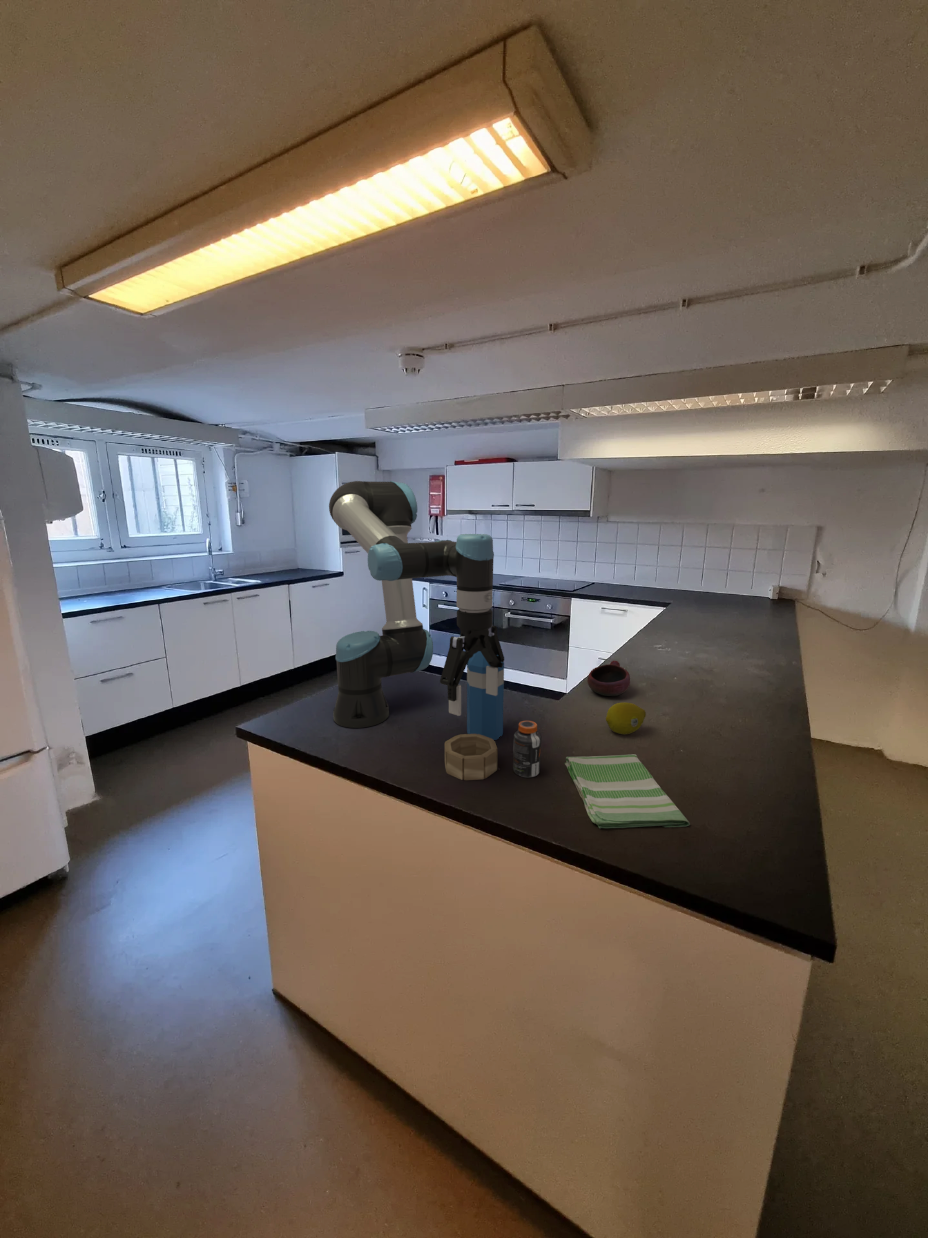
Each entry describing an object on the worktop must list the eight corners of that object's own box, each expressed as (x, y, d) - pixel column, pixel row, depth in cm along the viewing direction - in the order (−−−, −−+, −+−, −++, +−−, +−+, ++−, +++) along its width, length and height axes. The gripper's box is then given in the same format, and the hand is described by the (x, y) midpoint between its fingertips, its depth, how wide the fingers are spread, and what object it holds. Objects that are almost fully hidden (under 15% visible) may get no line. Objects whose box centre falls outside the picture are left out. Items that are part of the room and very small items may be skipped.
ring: (434, 768, 109) (434, 747, 108) (466, 748, 117) (466, 729, 116) (475, 785, 102) (475, 764, 101) (505, 763, 110) (506, 743, 109)
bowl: (635, 701, 145) (637, 676, 144) (592, 701, 145) (593, 676, 143) (618, 682, 161) (620, 659, 159) (579, 682, 161) (580, 659, 159)
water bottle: (500, 743, 120) (502, 646, 114) (463, 740, 122) (463, 644, 116) (504, 727, 129) (506, 636, 123) (470, 724, 131) (470, 634, 125)
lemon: (609, 740, 122) (611, 710, 120) (598, 726, 129) (600, 698, 127) (651, 738, 122) (654, 709, 120) (638, 725, 130) (640, 697, 128)
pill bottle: (544, 776, 105) (546, 728, 103) (519, 780, 104) (520, 731, 101) (533, 762, 111) (534, 716, 108) (508, 766, 109) (509, 719, 107)
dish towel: (594, 832, 88) (595, 819, 87) (561, 765, 111) (561, 754, 110) (689, 829, 89) (691, 815, 88) (637, 763, 112) (638, 752, 111)
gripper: (451, 622, 90) (451, 728, 95) (520, 601, 109) (518, 690, 114) (421, 617, 94) (423, 718, 99) (493, 598, 114) (492, 683, 118)
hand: (474, 703), depth 107 cm, fingers open, 13 cm apart
